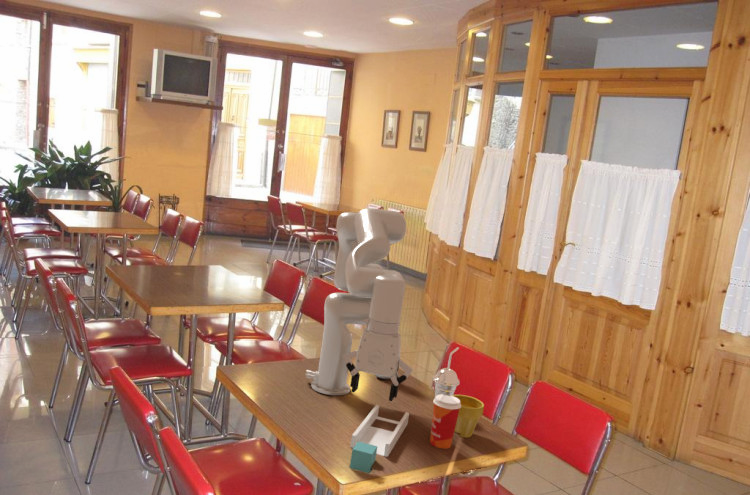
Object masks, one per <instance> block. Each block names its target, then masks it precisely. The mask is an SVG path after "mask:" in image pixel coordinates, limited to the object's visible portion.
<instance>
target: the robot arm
mask: <svg viewBox="0 0 750 495" xmlns="http://www.w3.org/2000/svg"><path fill="white" fill-rule="evenodd" d="M335 229H336V235H337V239H338V253H337V258H336V263H335V269H334V276H333V282H334V286H335V288H337V289H338V290H340V291H345V292H332V293H329V294H328V295H327V296H326V298H325V301H324V307H323V310H324V311H323V312H324V314H323V317H324V319H323V320H324V322H323V323H324V324H323V333H322V341H321V349H320V356H319V361H318V362H319V363H318V370H316V371H313V370H310V369H306V371H305V373H304V374H305V376H306V379H311V380H312V381H311V382H310V383H311V385H310V386H311V388H312V389H313V391H315V392H317V393H320V394H324V395H327V396H328V395H329V396H344V395H348V394H349V393H350V391H351V393H355V392H356V391H357V390H358V389H359V384H360V383H359V382H360V377H361V375H360V372H364V373H367V374H372V375H375V376H376V375H380V376H384V377H390V380H391V382H392V383H391V386H390V388H389V389H390V391H389V397H388V401H390V402H393V400H394V399H396V398H397V397H398V391H399V387H400V386H399V385H400V384H402V383H404V382H405V381H406V380H407V379H408V377H410V375H411V374H412V373H413V371H414V370H413V368H412V367H411V366H410V365H408V364H407V363H406V362H404V361H403V360H402V359H401V350H402V348H401V345H402V344H401V343H402V341H401V340H402V338H401V334H400V333H399V331H400V323H401V317H402V312H403V304H404V300H405V292H406V281H405V279H404V278H403V275H402V274H401V273H400V272H399V271H397V270H392V269H384V268H383V267H382V266H381V265H380V264H378V263H377V262H380V261H382V260H384V259H385V258H387V256H388V255H389V254H390V251H391V245H394V244H397V243H399V242H402V240H403V239H404V238H405V236H406V234H407V233H406V232H407V222H406V218H405V217H404V215H403V214H402V213H401V212H399V211H396V210H395V211H394V210H388V209H380V208H371V207H369V208H367V207H366V208H363V209H361V210H359V211H358V212H354V211H353V212H349V211H348V212H347V211H346V212H342V213H340V214H339V216H338V217H337V220H336V227H335ZM347 325H360V326H363V325H364V326H366V328H364V329H363V330H362V332H361V337H360V340H359V343H358V344H359V345H358V347H357V350H354V351H352V346H353V335H352V332H351V331H350V329H349V327H348V326H347ZM353 358H355V363H353V362H352V359H353ZM400 368H401V369H402V370H403V371H404V373H403V374H402V375H400V376H399V373H398V371H399V369H400ZM348 373H350V375H351V379H350V385H349V384H348V383H347V380H348Z"/></svg>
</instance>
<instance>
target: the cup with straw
mask: <svg viewBox="0 0 750 495" xmlns="http://www.w3.org/2000/svg"><path fill="white" fill-rule="evenodd" d="M459 349H460V347H458V346H457V347H456V348H454V349H453V350H452V351H450V353H449V355H448V356H449V357H448V362H447V367H444V368H440V369H439V370H438V371H437V373H435V374H434V375H433V377H432V380H433V382H434V398H435V397H436V396H437V395H440V394H443V395H449V396H452V395H455V394H454V393H455V392H456V389H457V386H459V385H460V379H459V378H458V375H457V372H456V371H454V370H453V369H452V368H450V367H451V361H452V357H453V356H452V355H453V354H454V353H455V352H457V351H458V350H459Z"/></svg>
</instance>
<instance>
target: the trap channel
mask: <svg viewBox="0 0 750 495" xmlns="http://www.w3.org/2000/svg"><path fill="white" fill-rule="evenodd" d="M379 410H380V405H378V404H376V405H375V406H374V407H373V408H372V409H371V411H370V412H369V413H368V415H367V416H366V417H365V418H364V419H363V420H362V422H361V423H360V425H358V427H357V428H356V430H354V432H353V433H352V435H351V438H350V439H351V440H350V446H349V447H350V448H352V449H353V448H354V446H355V445H356V444H357V442H358V441H359V442H363V443H366V444H370V445H374V446H377V452H376V455H379V456H381V457H382V456H383V457H385V458H388V457H389V455H391V452H392V451H393V449H394V447H395V446H396V444H397V442H398V441H399V439H400V437H401V435H402V434H403V432H404V431H405V429H406V427H407V426H408V423H409V416H410V412H407V411H406V412H404V414H403V415H402V418H401V419H400V421H397V420H394V419H391V418H390V419H389V418H386V417H383V416H382V417H381V416H379ZM376 420H378V421H383V422H387V423H389V424H390V423H391V424H395V425H396V427H395V429H394V430H393V431H392V430H387V429H383V428H380V427H374V426H372V425H373V424H374V422H375V421H376Z"/></svg>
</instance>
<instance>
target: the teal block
mask: <svg viewBox="0 0 750 495" xmlns="http://www.w3.org/2000/svg"><path fill="white" fill-rule="evenodd" d="M351 450H352V451H351V456H350V457H351V458H350V464H349V469H351V470H355V471H358V472H363V473H366V474H370V473H371V471H372V470H373V467H372V466H373V464H374V463H375V462H376V458H377V454H376V452H377V446H374V445H370V444H366V443H363V442H359V441H358V442H357V444H356V445H355V446H354V448H352V449H351Z"/></svg>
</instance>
